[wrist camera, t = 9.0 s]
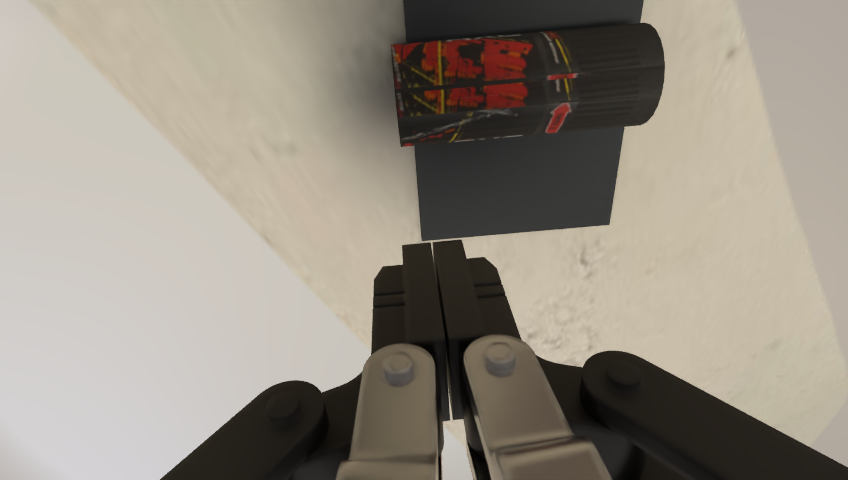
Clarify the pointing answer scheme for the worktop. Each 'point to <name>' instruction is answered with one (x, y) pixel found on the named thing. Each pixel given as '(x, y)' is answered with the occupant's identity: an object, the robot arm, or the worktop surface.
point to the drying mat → (520, 155)
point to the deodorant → (527, 83)
